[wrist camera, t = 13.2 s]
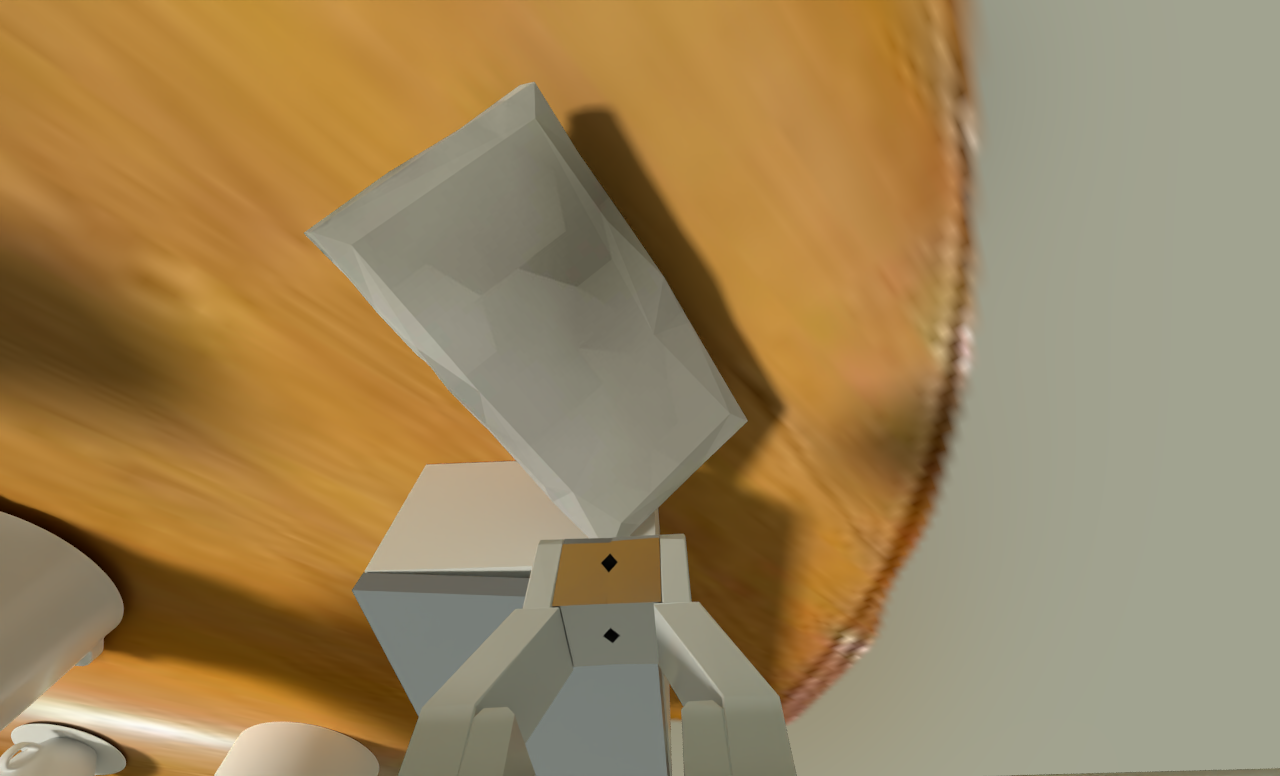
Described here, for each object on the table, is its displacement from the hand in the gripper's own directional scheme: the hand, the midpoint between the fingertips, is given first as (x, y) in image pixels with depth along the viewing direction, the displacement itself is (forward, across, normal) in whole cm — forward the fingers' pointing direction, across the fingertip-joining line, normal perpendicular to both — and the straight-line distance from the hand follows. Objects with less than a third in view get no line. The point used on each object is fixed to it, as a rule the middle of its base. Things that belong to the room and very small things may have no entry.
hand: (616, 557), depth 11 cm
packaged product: (+17, -1, 0) cm, 17 cm away
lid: (+10, +14, +22) cm, 28 cm away
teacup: (+19, +59, +44) cm, 76 cm away
